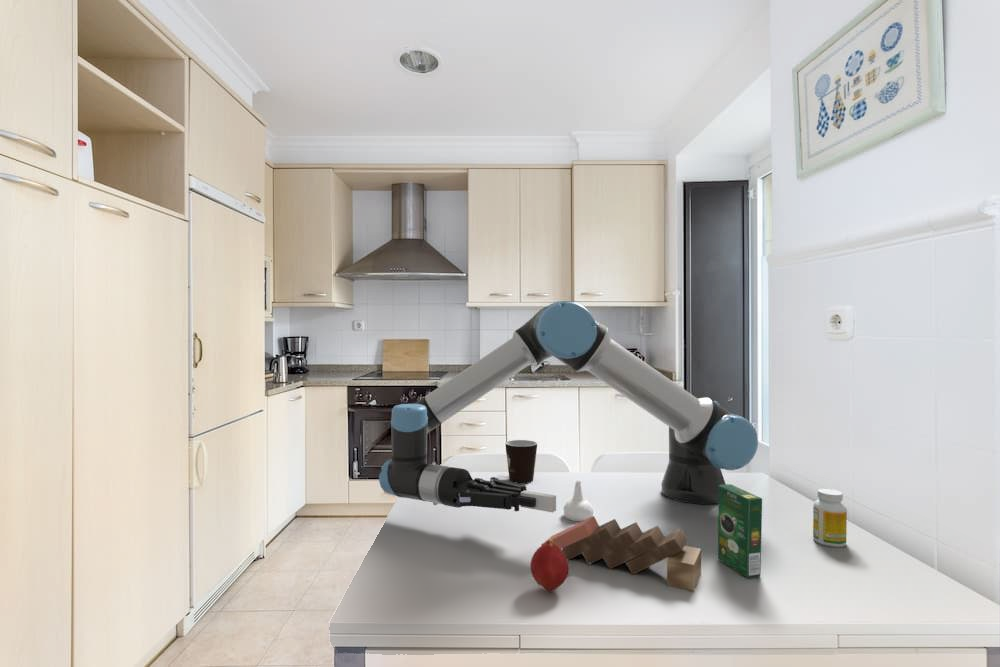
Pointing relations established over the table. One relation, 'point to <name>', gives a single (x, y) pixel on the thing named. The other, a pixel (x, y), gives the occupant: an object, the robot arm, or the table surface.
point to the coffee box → (739, 530)
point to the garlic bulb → (578, 506)
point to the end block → (684, 568)
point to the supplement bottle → (829, 518)
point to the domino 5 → (659, 552)
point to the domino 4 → (636, 548)
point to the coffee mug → (521, 460)
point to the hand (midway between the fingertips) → (554, 503)
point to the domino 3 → (614, 543)
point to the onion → (549, 566)
